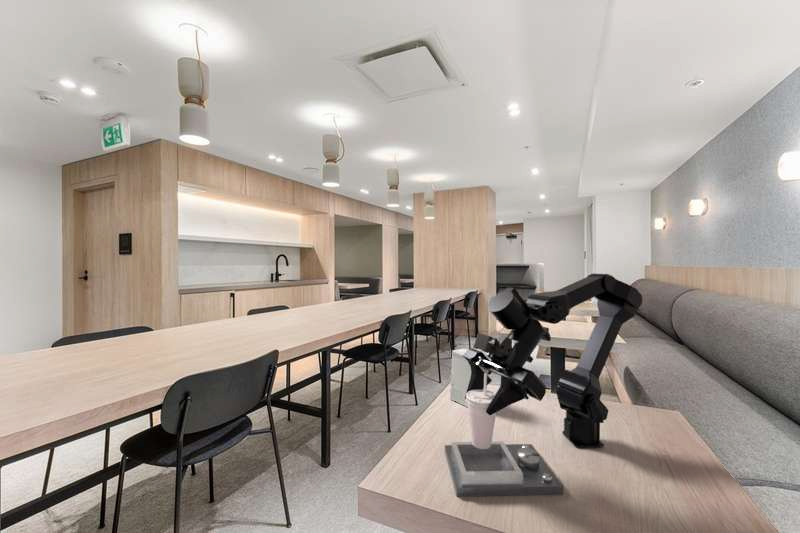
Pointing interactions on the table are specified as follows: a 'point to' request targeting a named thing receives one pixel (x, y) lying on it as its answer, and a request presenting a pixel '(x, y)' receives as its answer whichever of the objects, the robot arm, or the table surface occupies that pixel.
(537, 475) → the grey tray with knobs
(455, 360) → the skincare box
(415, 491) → the table surface
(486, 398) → the smoothie
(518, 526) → the table surface
